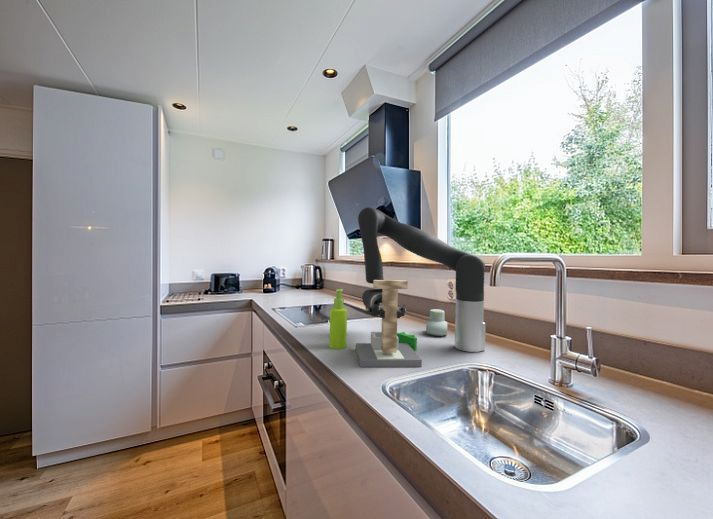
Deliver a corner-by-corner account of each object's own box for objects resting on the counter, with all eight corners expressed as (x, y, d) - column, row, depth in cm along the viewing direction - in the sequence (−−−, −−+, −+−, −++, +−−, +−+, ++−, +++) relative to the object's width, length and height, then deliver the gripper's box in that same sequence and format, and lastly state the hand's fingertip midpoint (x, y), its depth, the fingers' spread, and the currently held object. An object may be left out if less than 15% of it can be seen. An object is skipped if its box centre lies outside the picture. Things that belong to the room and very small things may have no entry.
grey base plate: (407, 348, 109) (407, 331, 108) (421, 366, 92) (422, 346, 92) (355, 349, 107) (356, 331, 107) (360, 367, 90) (360, 346, 90)
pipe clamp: (421, 349, 109) (421, 336, 109) (414, 351, 106) (414, 338, 106) (396, 342, 117) (397, 329, 117) (390, 343, 115) (390, 331, 115)
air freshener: (426, 330, 136) (427, 307, 136) (446, 332, 134) (447, 308, 133) (425, 336, 125) (426, 312, 125) (447, 338, 123) (447, 313, 123)
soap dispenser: (347, 343, 113) (348, 288, 113) (345, 349, 106) (346, 290, 106) (331, 342, 114) (332, 288, 114) (327, 348, 107) (329, 290, 107)
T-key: (403, 348, 98) (405, 280, 97) (406, 352, 94) (408, 281, 93) (371, 348, 97) (373, 279, 96) (373, 352, 93) (374, 280, 92)
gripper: (362, 294, 109) (367, 302, 92) (402, 294, 110) (415, 302, 93) (361, 315, 109) (367, 327, 92) (401, 315, 110) (414, 327, 93)
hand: (391, 314), depth 92 cm, fingers closed on T-key, 4 cm apart
